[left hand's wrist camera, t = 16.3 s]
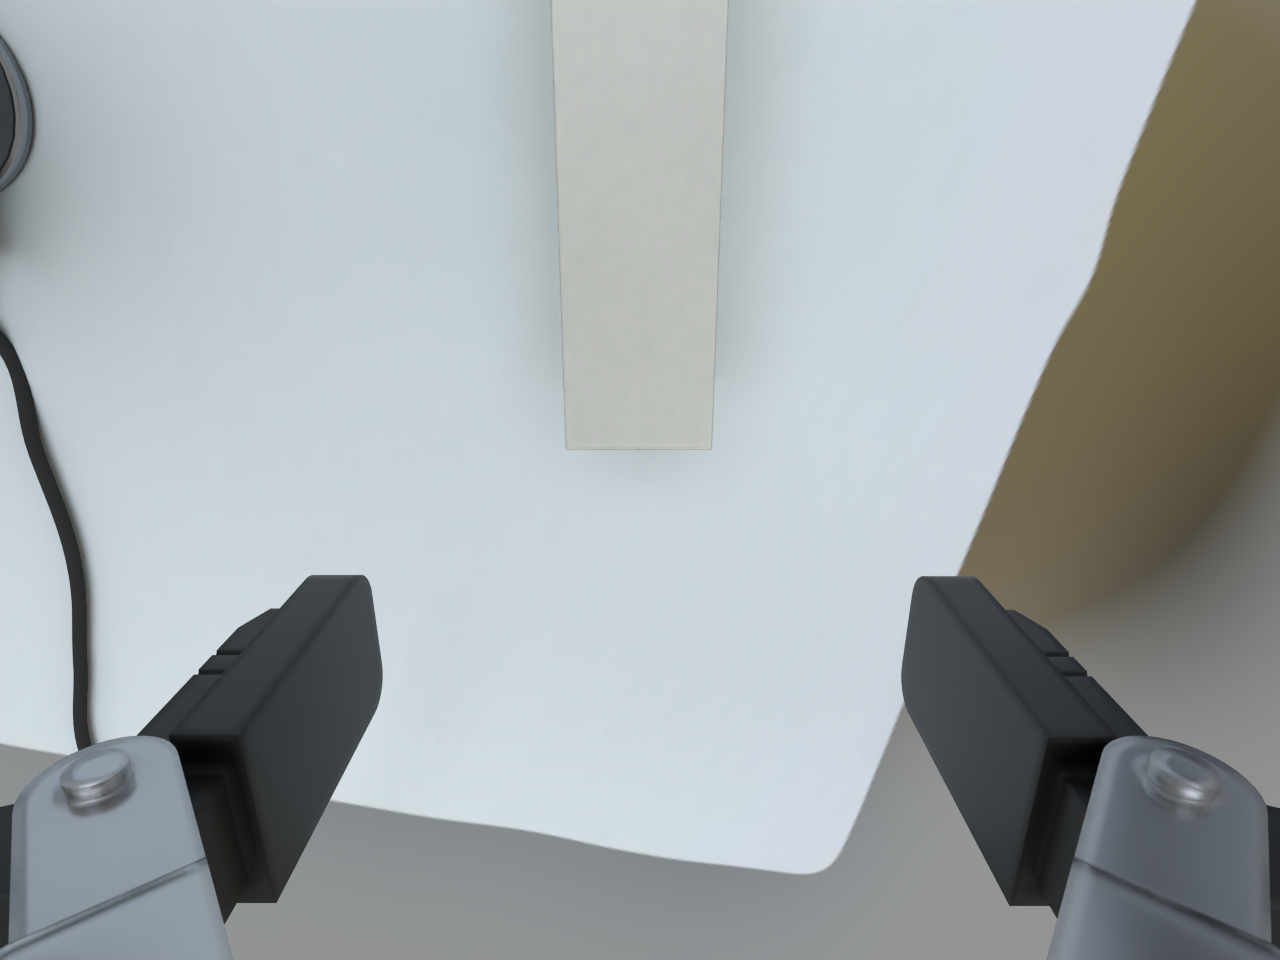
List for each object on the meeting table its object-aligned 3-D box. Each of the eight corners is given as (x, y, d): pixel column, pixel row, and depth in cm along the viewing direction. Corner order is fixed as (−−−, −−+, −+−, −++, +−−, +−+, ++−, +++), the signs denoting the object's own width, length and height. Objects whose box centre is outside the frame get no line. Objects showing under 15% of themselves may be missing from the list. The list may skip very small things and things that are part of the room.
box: (692, 384, 40) (712, 450, 30) (584, 384, 40) (565, 450, 30) (708, -179, 32) (742, -367, 21) (571, -179, 32) (538, -368, 21)
